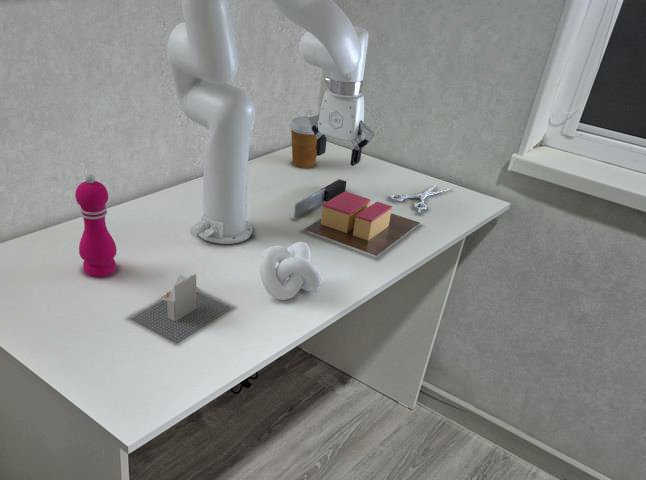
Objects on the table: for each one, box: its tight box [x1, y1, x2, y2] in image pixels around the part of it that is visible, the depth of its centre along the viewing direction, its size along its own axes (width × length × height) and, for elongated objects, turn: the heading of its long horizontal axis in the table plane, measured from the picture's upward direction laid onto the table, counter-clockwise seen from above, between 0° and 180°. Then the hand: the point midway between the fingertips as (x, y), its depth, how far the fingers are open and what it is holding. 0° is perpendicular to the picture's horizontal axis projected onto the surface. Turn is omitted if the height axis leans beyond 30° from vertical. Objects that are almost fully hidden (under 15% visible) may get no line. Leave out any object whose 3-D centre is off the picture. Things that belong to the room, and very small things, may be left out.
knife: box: [293, 178, 347, 218], centre depth 159 cm, size 22×2×4 cm, turn 143°
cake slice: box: [353, 201, 393, 241], centre depth 147 cm, size 10×4×5 cm, turn 143°
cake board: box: [303, 212, 421, 257], centre depth 151 cm, size 22×19×1 cm
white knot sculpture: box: [259, 241, 322, 301], centre depth 124 cm, size 11×12×9 cm
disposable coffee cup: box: [289, 116, 319, 169], centre depth 179 cm, size 10×10×12 cm
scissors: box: [389, 184, 450, 213], centre depth 167 cm, size 11×1×20 cm
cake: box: [320, 190, 372, 233], centre depth 150 cm, size 10×7×5 cm
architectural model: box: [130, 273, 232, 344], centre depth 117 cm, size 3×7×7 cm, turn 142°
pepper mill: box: [74, 173, 117, 278], centre depth 124 cm, size 7×7×20 cm
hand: (337, 159), depth 158 cm, fingers open, 9 cm apart
